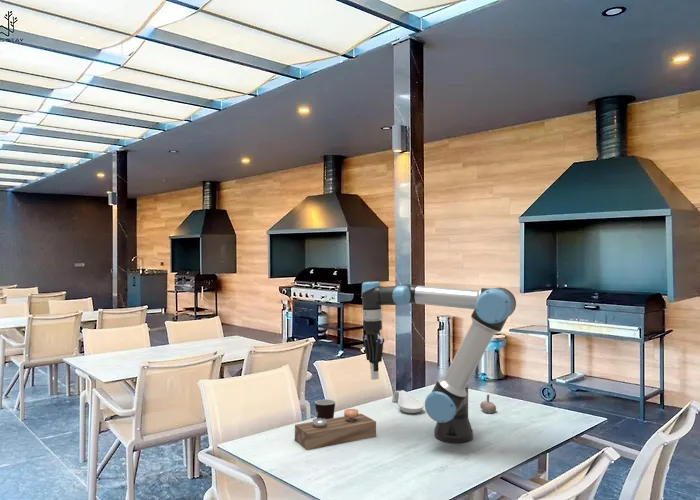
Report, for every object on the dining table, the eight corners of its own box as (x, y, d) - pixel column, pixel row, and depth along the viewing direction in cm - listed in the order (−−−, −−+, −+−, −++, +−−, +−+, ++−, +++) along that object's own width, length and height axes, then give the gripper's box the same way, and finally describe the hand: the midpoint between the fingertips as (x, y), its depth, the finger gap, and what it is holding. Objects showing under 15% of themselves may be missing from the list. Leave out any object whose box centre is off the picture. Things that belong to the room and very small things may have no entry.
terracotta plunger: (360, 431, 205) (360, 411, 205) (348, 434, 202) (348, 413, 203) (354, 427, 210) (353, 408, 210) (341, 429, 207) (341, 410, 208)
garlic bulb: (483, 408, 243) (483, 391, 243) (499, 411, 239) (498, 394, 239) (477, 412, 237) (477, 395, 237) (493, 415, 233) (493, 397, 233)
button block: (376, 436, 205) (376, 421, 205) (307, 450, 190) (307, 433, 190) (361, 427, 215) (361, 413, 215) (294, 440, 201) (294, 424, 201)
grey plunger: (329, 441, 198) (329, 421, 199) (316, 444, 196) (316, 423, 196) (323, 437, 203) (323, 417, 203) (310, 439, 201) (310, 419, 201)
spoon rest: (428, 414, 234) (428, 398, 235) (404, 417, 231) (404, 401, 231) (406, 401, 257) (406, 386, 257) (384, 403, 253) (384, 388, 253)
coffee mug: (332, 429, 213) (332, 405, 213) (312, 428, 215) (312, 404, 215) (338, 421, 225) (338, 398, 225) (319, 419, 226) (319, 397, 226)
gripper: (356, 319, 210) (358, 377, 210) (373, 321, 199) (375, 383, 198) (371, 318, 214) (373, 375, 213) (389, 320, 203) (391, 380, 202)
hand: (374, 378), depth 206 cm, fingers closed
